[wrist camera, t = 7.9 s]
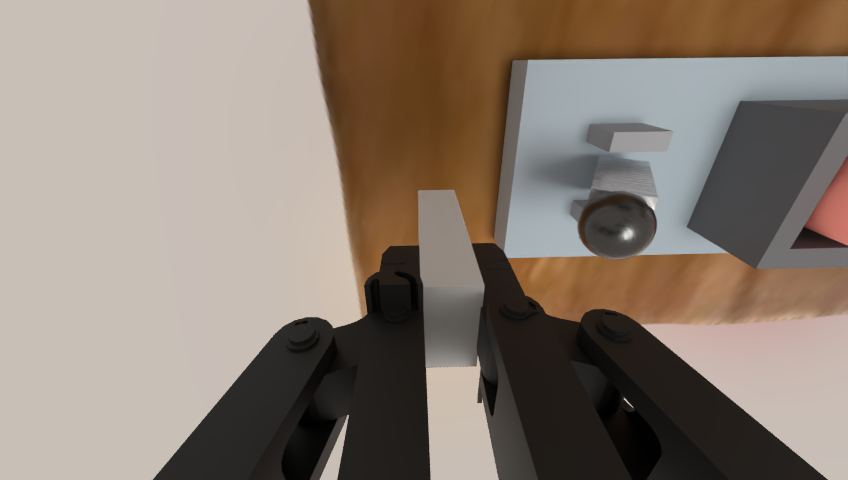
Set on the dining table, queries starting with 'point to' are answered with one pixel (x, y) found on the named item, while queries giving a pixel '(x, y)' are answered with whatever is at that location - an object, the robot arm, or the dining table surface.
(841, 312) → the dining table surface
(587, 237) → the lever
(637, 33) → the dining table surface
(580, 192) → the panel
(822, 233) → the button
